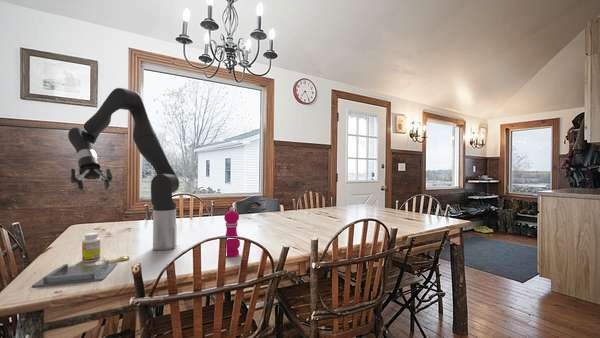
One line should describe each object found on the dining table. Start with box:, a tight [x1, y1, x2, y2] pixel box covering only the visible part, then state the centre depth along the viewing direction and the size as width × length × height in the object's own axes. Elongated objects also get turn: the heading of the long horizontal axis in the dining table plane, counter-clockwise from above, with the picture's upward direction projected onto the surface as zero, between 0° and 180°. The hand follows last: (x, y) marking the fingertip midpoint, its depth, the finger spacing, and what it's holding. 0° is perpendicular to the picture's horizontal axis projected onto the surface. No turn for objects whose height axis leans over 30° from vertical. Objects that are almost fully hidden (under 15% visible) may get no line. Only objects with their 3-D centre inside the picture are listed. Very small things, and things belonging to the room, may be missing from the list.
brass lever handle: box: [107, 255, 130, 264], centre depth 103 cm, size 7×3×1 cm, turn 143°
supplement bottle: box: [81, 232, 101, 263], centre depth 103 cm, size 6×6×10 cm
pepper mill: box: [223, 206, 241, 258], centre depth 112 cm, size 7×7×20 cm
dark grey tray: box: [31, 260, 118, 288], centre depth 89 cm, size 18×14×2 cm
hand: (94, 188), depth 113 cm, fingers open, 8 cm apart
